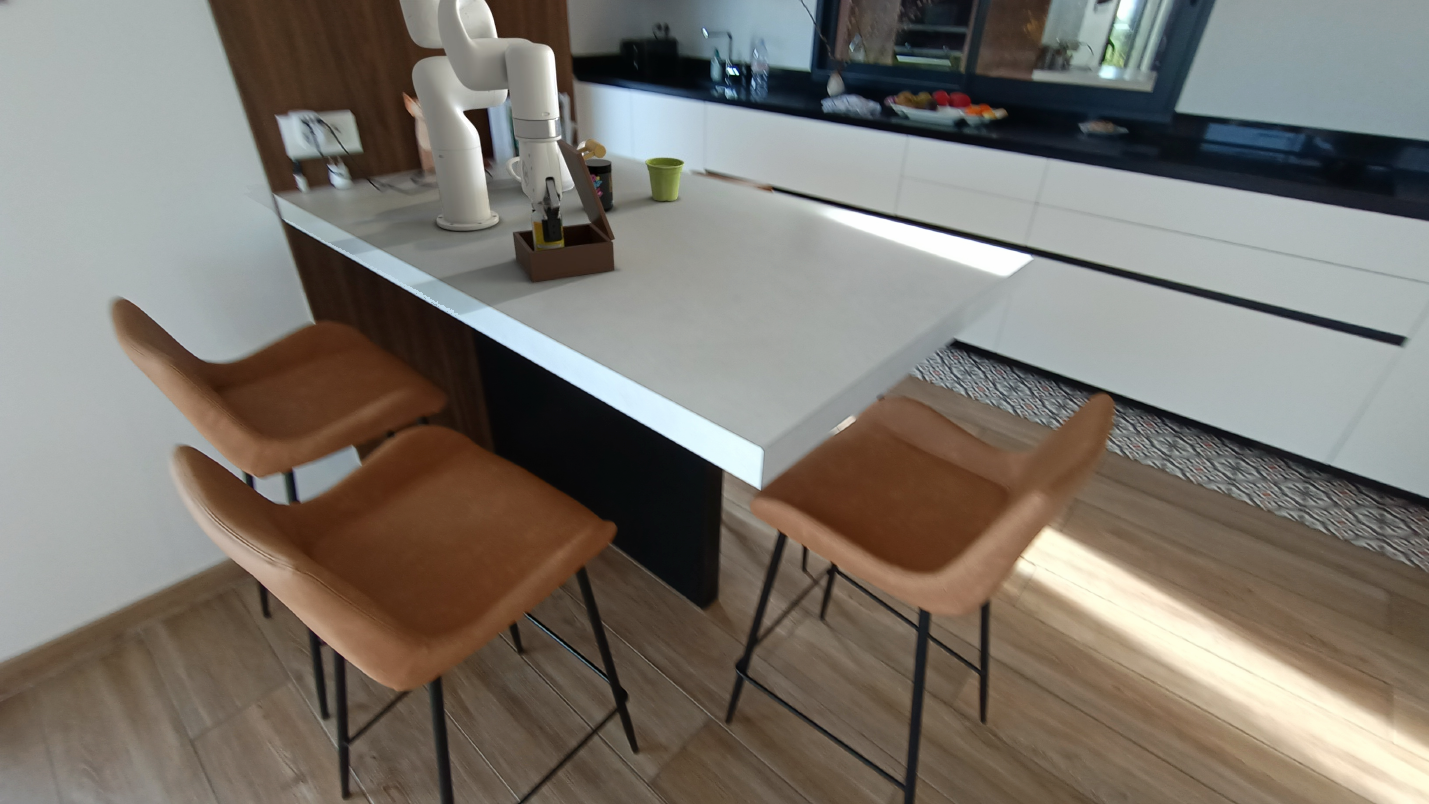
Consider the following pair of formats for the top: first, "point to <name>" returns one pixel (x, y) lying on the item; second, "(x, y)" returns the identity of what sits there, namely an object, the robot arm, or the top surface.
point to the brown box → (566, 254)
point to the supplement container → (602, 180)
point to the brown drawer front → (586, 181)
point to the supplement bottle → (538, 232)
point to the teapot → (565, 175)
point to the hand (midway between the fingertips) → (548, 234)
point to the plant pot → (664, 177)
